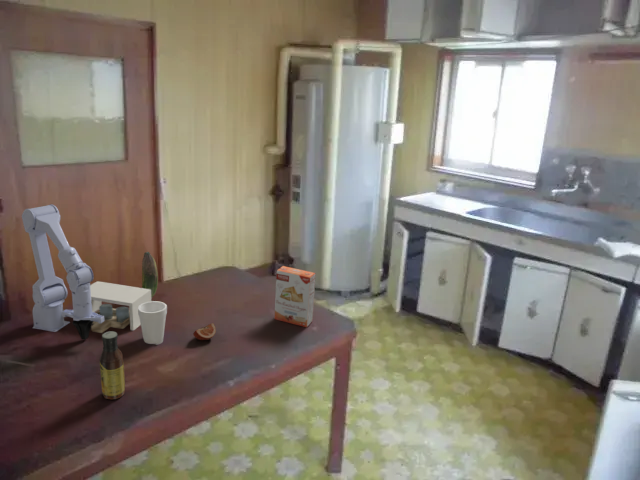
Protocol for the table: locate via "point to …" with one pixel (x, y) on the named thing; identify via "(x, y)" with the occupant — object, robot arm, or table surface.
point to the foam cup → (152, 321)
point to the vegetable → (149, 273)
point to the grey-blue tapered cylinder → (122, 314)
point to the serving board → (109, 323)
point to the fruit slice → (205, 332)
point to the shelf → (120, 298)
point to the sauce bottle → (111, 367)
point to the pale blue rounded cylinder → (106, 311)
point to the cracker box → (294, 296)
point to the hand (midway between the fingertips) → (84, 338)
